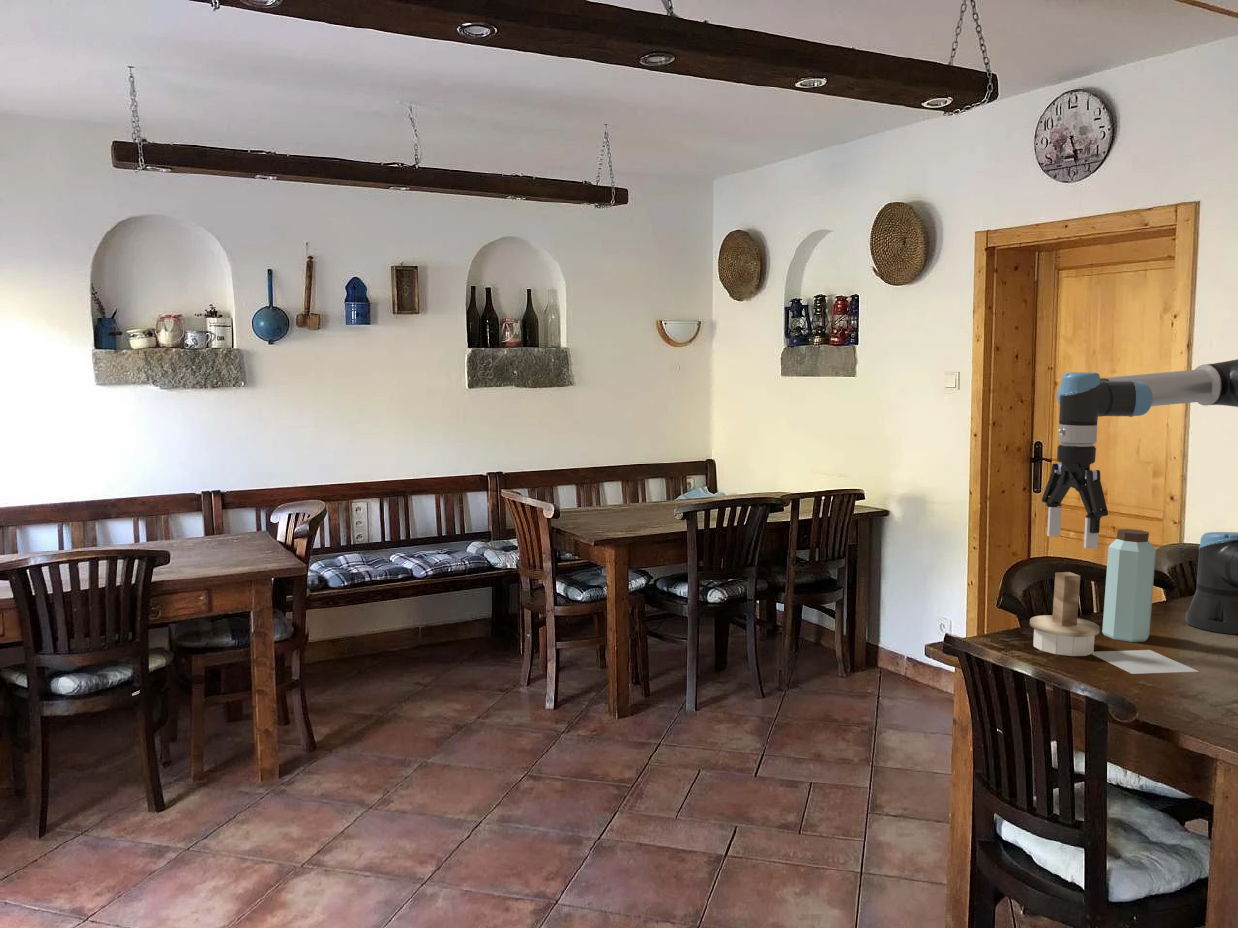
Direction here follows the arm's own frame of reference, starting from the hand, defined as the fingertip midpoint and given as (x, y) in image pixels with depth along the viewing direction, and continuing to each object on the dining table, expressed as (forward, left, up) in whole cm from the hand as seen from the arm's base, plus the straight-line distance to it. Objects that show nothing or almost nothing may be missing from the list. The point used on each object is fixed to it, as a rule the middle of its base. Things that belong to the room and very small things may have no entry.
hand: (1071, 541), depth 218 cm
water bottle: (-20, -7, -24) cm, 32 cm away
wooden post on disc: (0, 0, -19) cm, 19 cm away
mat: (-11, +11, -24) cm, 29 cm away
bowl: (0, 0, -24) cm, 24 cm away
